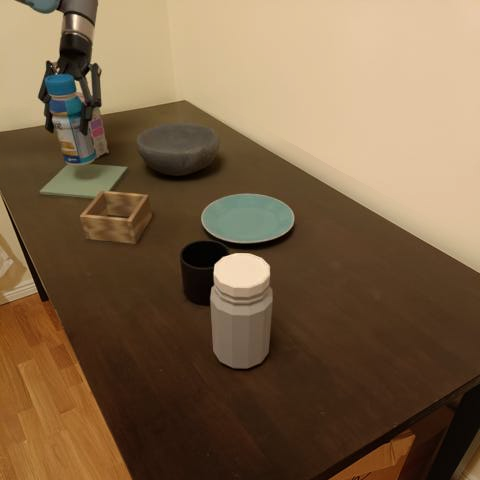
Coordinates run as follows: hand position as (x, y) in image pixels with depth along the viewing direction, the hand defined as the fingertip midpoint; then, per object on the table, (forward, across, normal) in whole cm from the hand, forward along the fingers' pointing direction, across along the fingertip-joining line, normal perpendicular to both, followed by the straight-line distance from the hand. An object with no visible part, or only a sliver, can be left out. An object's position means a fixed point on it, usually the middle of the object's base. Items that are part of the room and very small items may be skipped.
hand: (66, 131), depth 107 cm
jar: (+47, -53, +26) cm, 76 cm away
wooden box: (+23, -18, +2) cm, 29 cm away
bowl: (0, -24, -21) cm, 32 cm away
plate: (+19, -48, -2) cm, 52 cm away
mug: (+36, -43, +15) cm, 58 cm away
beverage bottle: (+4, 0, -9) cm, 9 cm away
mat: (+8, 0, -13) cm, 15 cm away
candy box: (-5, +8, -26) cm, 28 cm away
